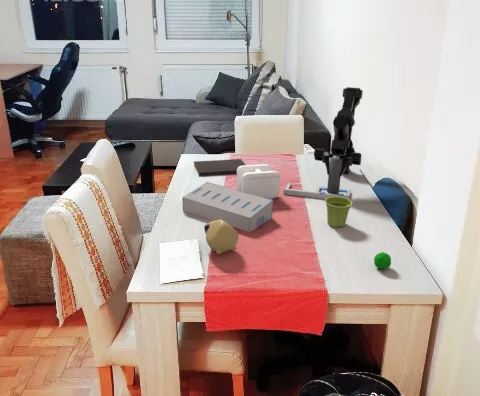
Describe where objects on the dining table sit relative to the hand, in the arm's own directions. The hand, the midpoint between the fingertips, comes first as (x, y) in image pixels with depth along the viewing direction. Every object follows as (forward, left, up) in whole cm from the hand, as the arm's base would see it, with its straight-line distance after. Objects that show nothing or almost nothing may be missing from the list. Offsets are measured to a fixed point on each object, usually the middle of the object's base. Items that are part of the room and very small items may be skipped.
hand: (334, 175), depth 199 cm
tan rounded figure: (+59, -29, -9) cm, 66 cm away
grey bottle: (-1, 0, -8) cm, 8 cm away
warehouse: (+32, -35, -9) cm, 48 cm away
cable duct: (0, -6, -8) cm, 10 cm away
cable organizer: (+11, -29, -9) cm, 32 cm away
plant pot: (+28, +4, -9) cm, 29 cm away
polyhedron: (+55, +20, -9) cm, 59 cm away
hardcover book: (-16, -53, -9) cm, 56 cm away
